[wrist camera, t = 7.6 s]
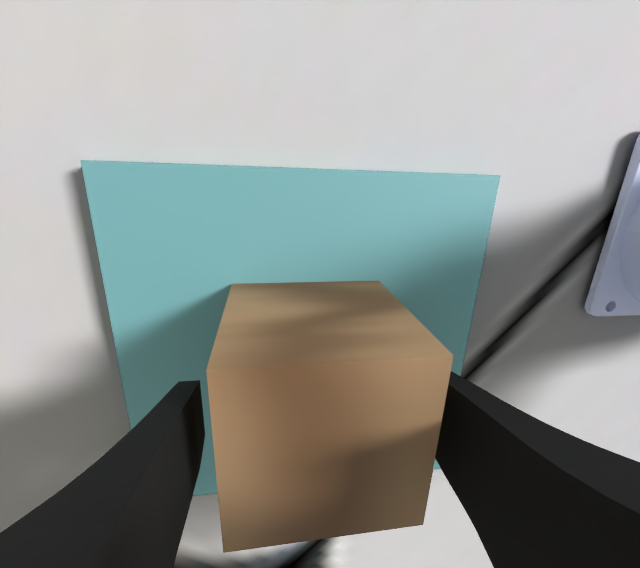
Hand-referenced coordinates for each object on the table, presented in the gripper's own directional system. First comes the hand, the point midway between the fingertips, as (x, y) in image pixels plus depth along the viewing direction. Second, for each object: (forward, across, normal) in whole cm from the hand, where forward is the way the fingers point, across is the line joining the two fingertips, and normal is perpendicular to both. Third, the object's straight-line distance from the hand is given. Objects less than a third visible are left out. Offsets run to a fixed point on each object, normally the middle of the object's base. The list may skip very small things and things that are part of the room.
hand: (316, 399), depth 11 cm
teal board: (+4, 0, 0) cm, 4 cm away
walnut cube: (+3, 0, 0) cm, 3 cm away
